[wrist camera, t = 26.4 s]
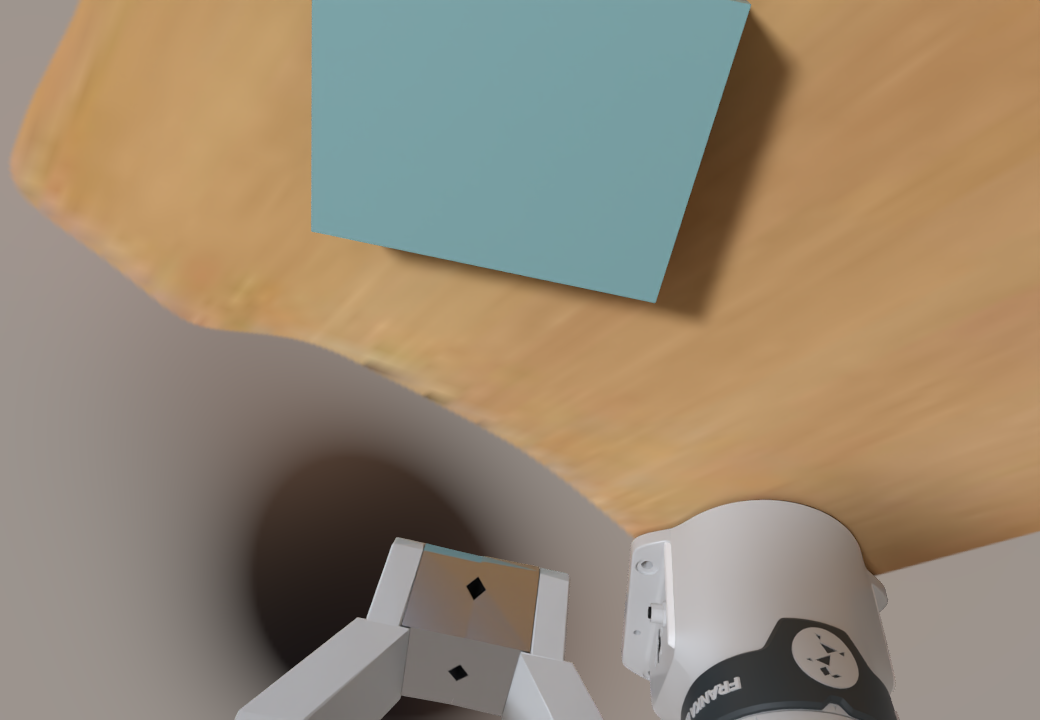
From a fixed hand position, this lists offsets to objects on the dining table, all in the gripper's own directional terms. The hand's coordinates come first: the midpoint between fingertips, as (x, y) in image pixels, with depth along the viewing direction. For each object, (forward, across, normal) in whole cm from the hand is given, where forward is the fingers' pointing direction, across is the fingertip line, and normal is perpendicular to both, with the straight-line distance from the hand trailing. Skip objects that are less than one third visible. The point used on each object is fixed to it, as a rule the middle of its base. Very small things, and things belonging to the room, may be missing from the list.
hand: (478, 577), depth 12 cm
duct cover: (+26, +3, 0) cm, 26 cm away
